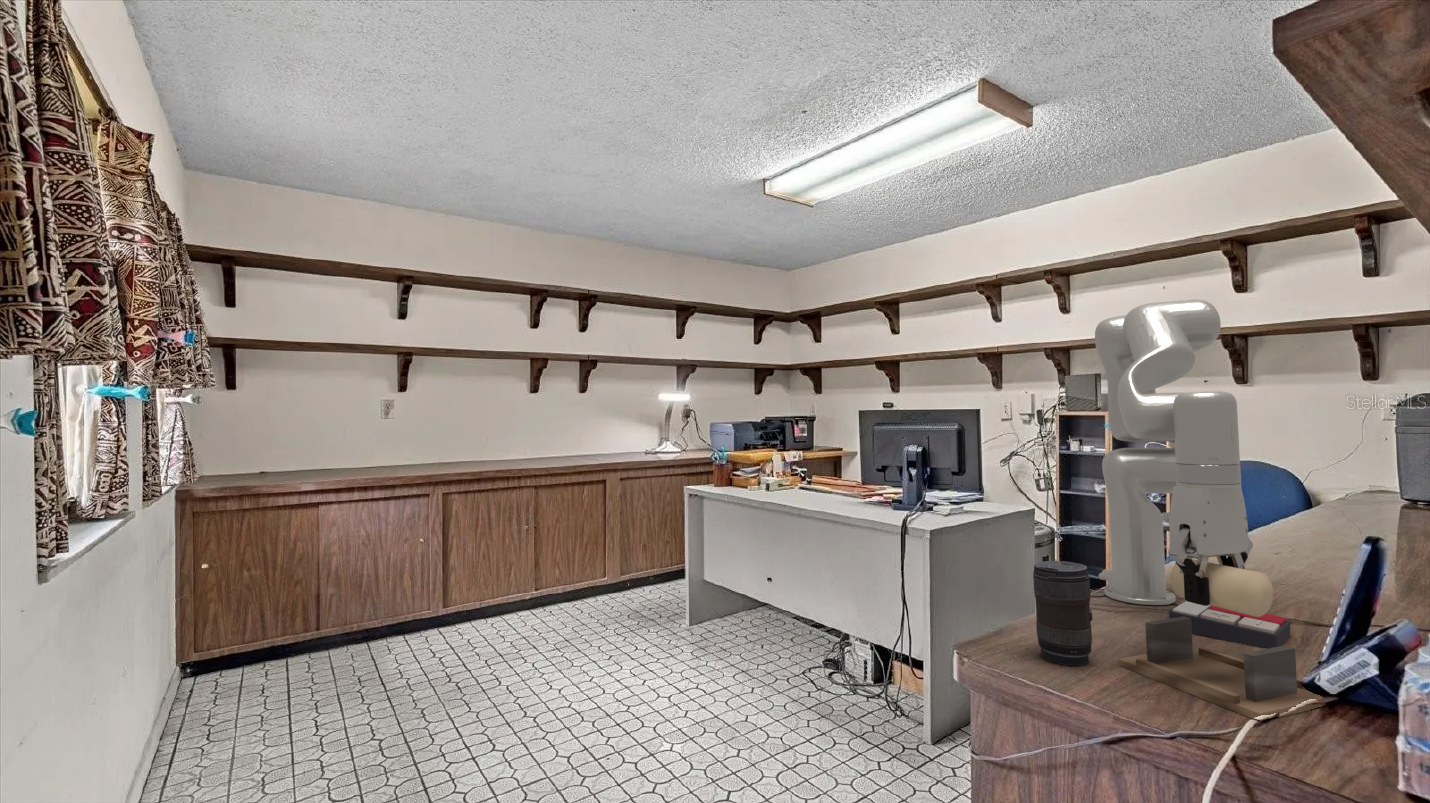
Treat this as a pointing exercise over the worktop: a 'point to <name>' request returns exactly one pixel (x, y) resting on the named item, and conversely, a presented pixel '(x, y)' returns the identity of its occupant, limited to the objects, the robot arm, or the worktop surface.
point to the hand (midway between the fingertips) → (1214, 599)
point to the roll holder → (1221, 671)
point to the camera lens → (1063, 611)
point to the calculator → (1234, 625)
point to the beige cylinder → (1232, 588)
